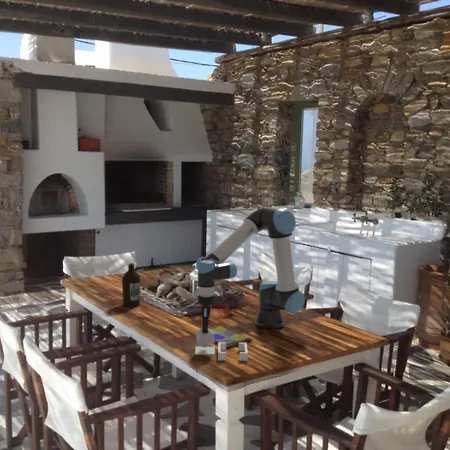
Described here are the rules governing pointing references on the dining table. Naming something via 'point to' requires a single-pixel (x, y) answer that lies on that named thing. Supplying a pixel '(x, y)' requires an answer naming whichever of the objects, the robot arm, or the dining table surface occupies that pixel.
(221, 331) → the dish towel
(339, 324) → the dining table surface
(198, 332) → the die
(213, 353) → the mat
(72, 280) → the dining table surface
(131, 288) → the olive oil
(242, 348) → the pocket
